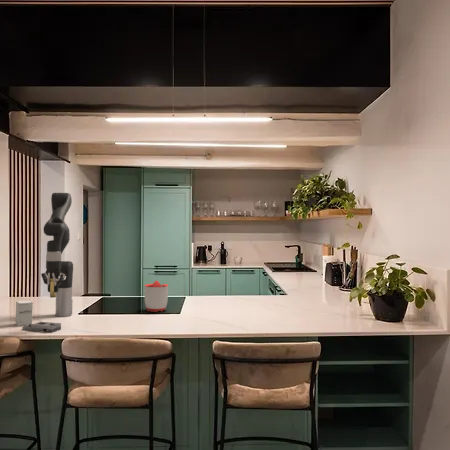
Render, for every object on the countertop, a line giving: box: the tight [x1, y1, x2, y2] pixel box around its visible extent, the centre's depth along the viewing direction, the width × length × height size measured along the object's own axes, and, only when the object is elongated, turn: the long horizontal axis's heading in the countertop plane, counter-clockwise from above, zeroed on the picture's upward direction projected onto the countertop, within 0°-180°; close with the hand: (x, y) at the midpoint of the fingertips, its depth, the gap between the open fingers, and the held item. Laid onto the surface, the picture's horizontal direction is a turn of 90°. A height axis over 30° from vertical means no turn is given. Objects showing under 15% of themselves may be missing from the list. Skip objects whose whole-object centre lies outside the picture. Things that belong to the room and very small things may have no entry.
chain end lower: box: [21, 324, 47, 332], centre depth 222 cm, size 7×13×2 cm, turn 76°
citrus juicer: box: [144, 280, 169, 313], centre depth 277 cm, size 16×17×20 cm
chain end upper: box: [31, 321, 62, 333], centre depth 221 cm, size 7×13×4 cm, turn 76°
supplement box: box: [15, 300, 34, 327], centre depth 232 cm, size 7×7×13 cm
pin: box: [49, 279, 57, 299], centre depth 224 cm, size 4×4×10 cm
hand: (52, 292), depth 224 cm, fingers closed on pin, 3 cm apart
